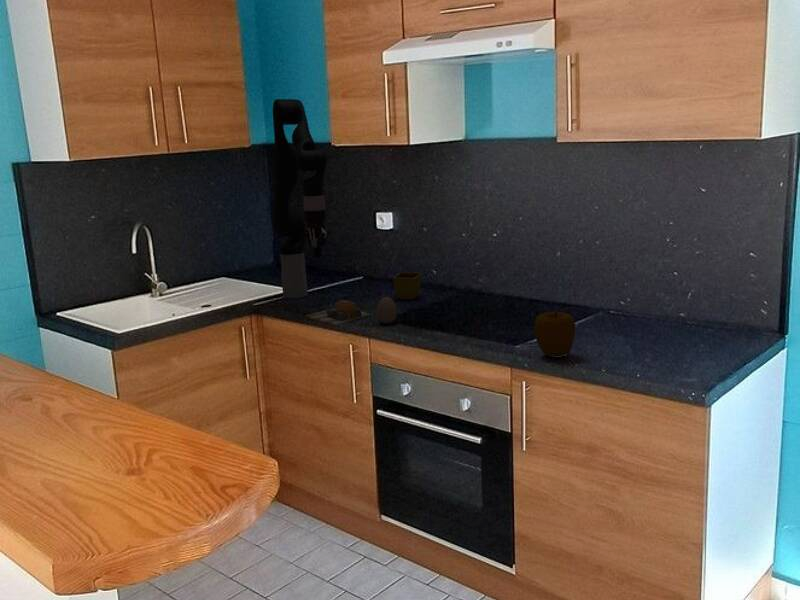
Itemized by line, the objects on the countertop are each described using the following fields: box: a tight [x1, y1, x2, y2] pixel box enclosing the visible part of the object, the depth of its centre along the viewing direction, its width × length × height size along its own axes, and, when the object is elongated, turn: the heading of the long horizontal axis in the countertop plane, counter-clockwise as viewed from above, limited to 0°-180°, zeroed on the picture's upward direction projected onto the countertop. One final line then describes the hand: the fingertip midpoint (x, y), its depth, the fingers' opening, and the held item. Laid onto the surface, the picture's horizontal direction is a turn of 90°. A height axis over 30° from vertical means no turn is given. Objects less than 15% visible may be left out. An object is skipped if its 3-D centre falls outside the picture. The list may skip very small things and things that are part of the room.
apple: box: [534, 311, 576, 356], centre depth 223 cm, size 11×11×13 cm
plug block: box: [335, 299, 356, 319], centre depth 277 cm, size 6×4×6 cm, turn 40°
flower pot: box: [392, 272, 422, 301], centre depth 301 cm, size 9×9×9 cm
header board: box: [305, 305, 373, 326], centre depth 281 cm, size 18×16×5 cm
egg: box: [376, 296, 398, 325], centre depth 267 cm, size 7×7×9 cm
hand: (317, 257), depth 284 cm, fingers closed
